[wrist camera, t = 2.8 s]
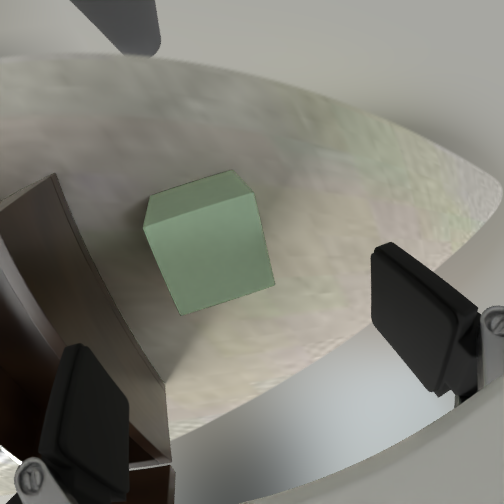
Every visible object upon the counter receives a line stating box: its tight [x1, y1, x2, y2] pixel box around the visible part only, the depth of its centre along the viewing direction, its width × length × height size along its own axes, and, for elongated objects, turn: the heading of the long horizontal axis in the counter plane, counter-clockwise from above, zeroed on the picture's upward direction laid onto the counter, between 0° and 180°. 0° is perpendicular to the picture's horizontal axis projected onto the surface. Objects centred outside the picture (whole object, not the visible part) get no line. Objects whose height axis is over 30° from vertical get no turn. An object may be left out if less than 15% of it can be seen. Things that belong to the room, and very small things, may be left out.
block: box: [143, 170, 275, 316], centre depth 15 cm, size 4×4×4 cm
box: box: [0, 173, 172, 469], centre depth 14 cm, size 17×13×7 cm
